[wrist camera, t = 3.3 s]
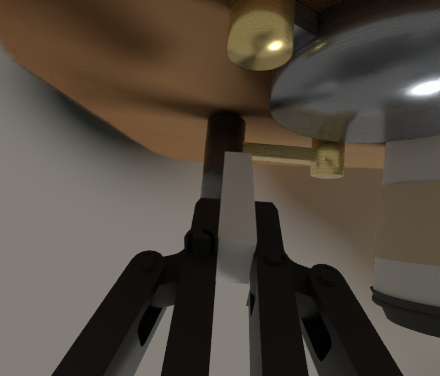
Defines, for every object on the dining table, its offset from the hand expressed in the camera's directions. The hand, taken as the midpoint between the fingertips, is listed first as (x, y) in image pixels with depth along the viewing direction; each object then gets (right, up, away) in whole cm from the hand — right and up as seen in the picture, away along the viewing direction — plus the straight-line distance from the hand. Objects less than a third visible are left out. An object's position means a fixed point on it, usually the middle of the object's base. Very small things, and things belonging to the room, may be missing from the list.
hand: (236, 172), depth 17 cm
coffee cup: (+17, +3, +7) cm, 18 cm away
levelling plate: (+8, +5, -2) cm, 9 cm away
